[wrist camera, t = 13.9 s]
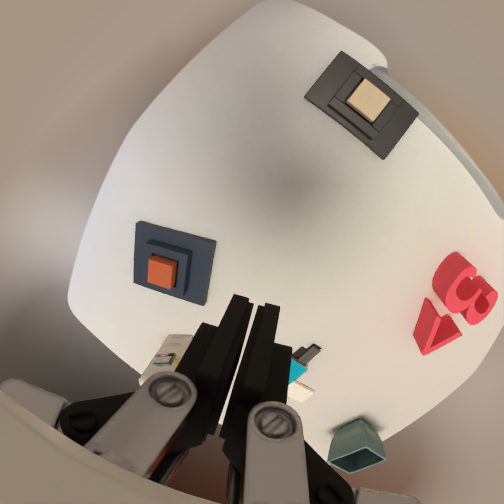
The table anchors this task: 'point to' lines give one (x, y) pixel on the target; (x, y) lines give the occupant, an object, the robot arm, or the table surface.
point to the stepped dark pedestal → (334, 104)
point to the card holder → (300, 373)
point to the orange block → (162, 271)
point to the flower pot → (356, 447)
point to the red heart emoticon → (453, 303)
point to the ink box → (167, 356)
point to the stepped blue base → (178, 249)
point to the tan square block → (368, 100)
